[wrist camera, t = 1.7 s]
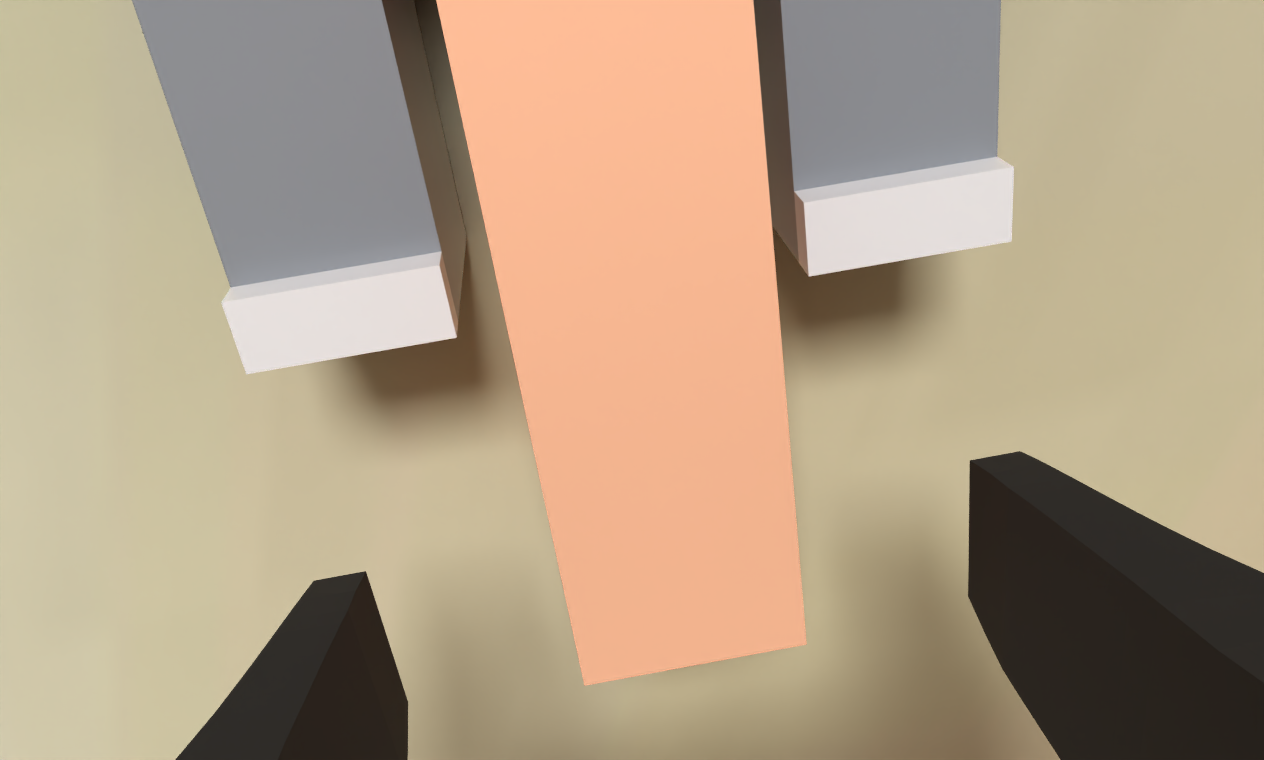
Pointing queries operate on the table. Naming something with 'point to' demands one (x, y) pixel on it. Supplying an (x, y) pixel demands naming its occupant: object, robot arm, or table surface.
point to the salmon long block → (640, 314)
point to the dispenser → (423, 180)
